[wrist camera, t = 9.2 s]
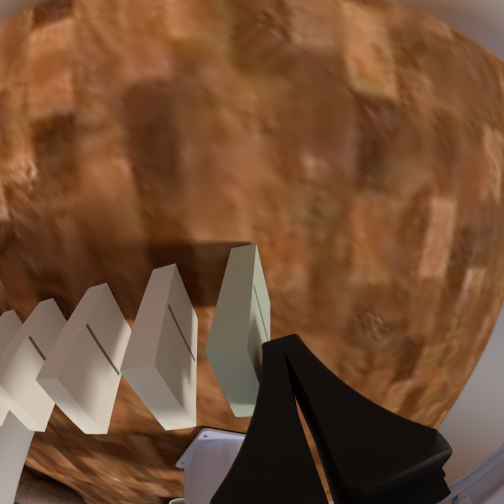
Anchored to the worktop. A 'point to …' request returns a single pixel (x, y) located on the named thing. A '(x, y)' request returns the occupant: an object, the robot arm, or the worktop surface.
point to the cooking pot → (45, 493)
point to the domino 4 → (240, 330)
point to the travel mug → (12, 455)
